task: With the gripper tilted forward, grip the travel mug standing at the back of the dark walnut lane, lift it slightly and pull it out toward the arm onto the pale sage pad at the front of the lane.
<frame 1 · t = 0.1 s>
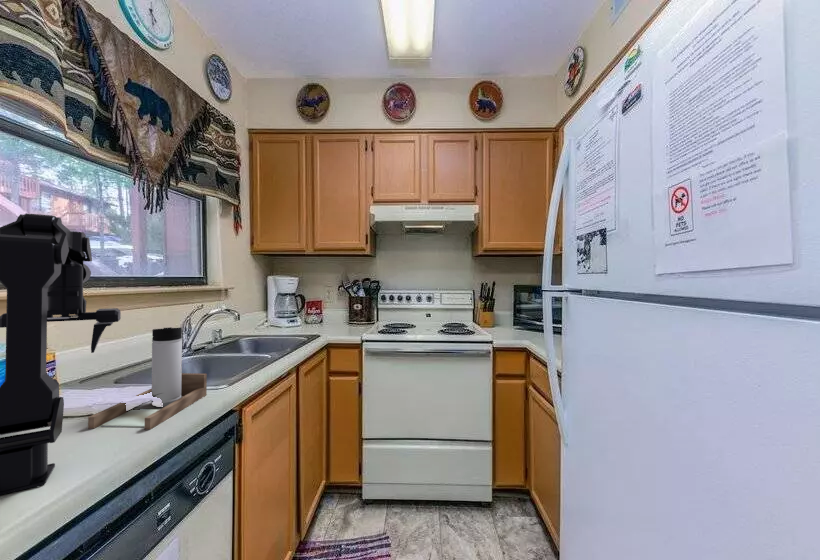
hand: (65, 354, 77), 15 cm above the countertop, tool pointing down, fingers open, 9 cm apart
travel mug: (166, 404, 87), resting on shelf lane
shelf lane: (153, 410, 83), on the countertop
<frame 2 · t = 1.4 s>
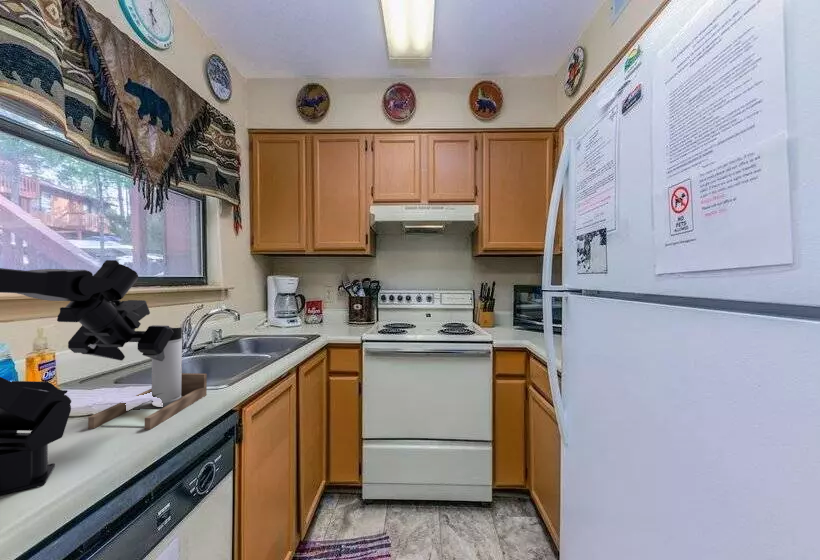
hand: (143, 359, 79), 14 cm above the countertop, tool tilted 45°, fingers open, 9 cm apart
nothing on the countertop moved.
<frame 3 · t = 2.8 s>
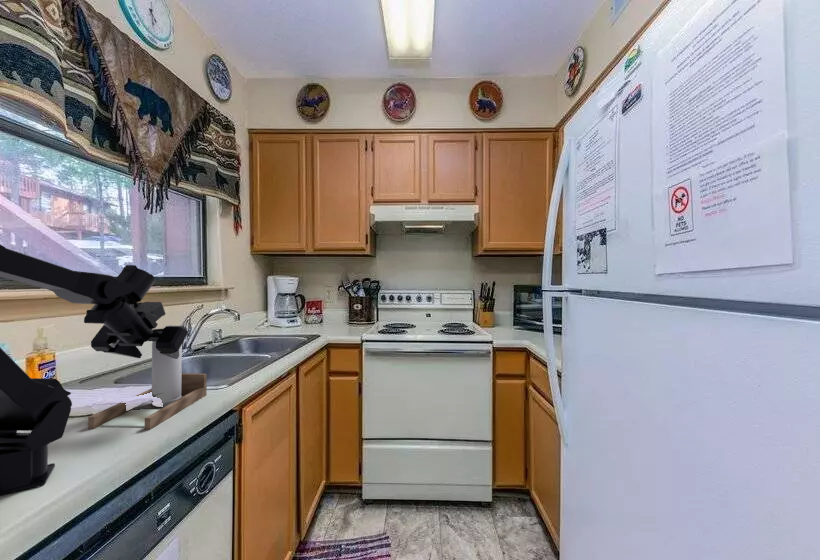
hand: (159, 356, 84), 13 cm above the countertop, tool tilted 45°, fingers open, 9 cm apart
nothing on the countertop moved.
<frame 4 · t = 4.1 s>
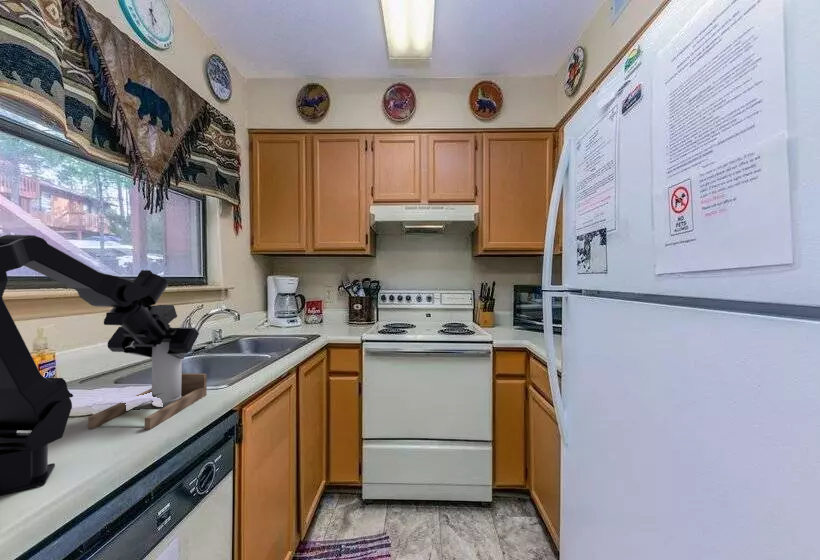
hand: (170, 357, 89), 12 cm above the countertop, tool tilted 45°, fingers closed on travel mug, 6 cm apart
travel mug: (166, 404, 87), resting on shelf lane, touching gripper
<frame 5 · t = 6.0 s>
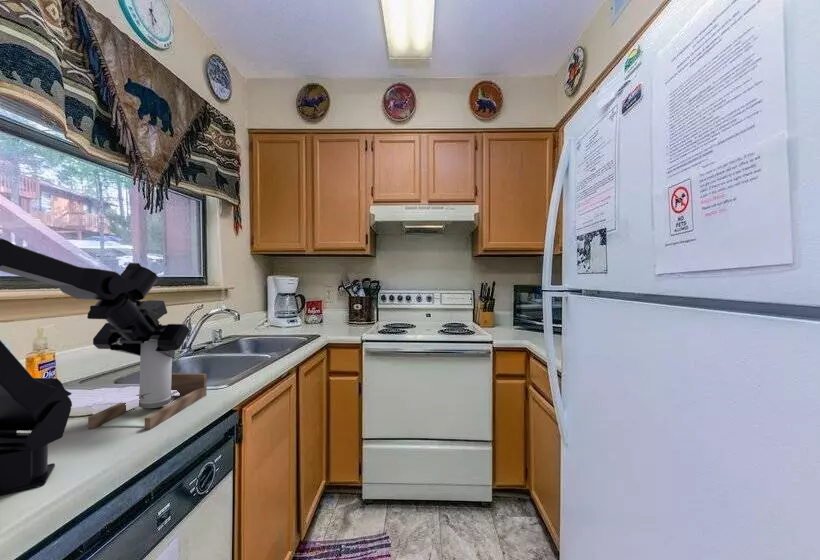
hand: (160, 355, 85), 13 cm above the countertop, tool tilted 45°, fingers closed on travel mug, 6 cm apart
travel mug: (155, 405, 83), point 1 cm above the countertop, touching gripper
when the fingers open (12 cm above the countertop, at t = 7.8 s): travel mug stays where it is, resting on shelf lane.
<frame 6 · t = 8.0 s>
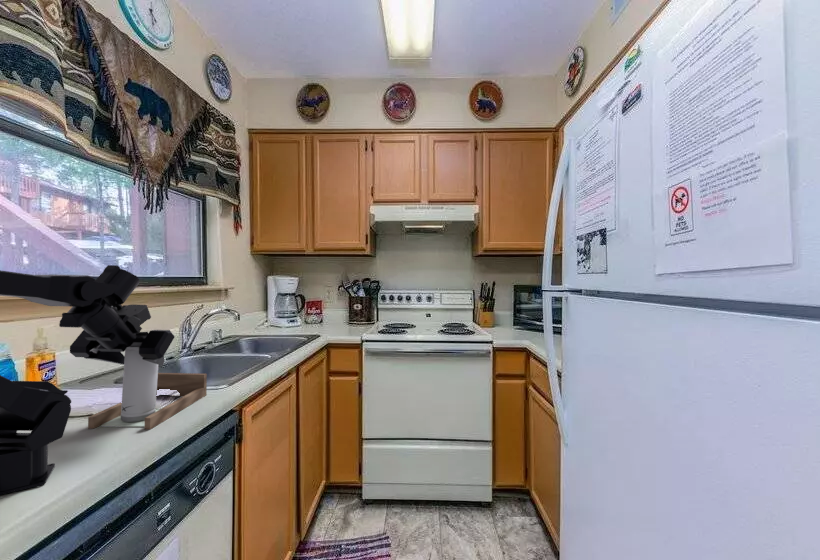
hand: (144, 363, 79), 12 cm above the countertop, tool tilted 45°, fingers open, 8 cm apart
travel mug: (138, 418, 78), resting on shelf lane, touching gripper
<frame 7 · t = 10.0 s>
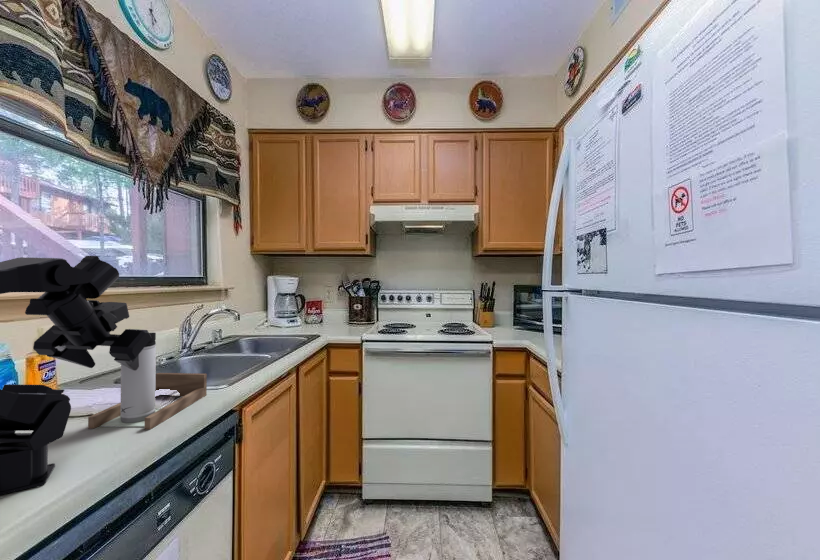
hand: (114, 367, 72), 13 cm above the countertop, tool tilted 40°, fingers open, 9 cm apart
travel mug: (138, 418, 78), resting on shelf lane
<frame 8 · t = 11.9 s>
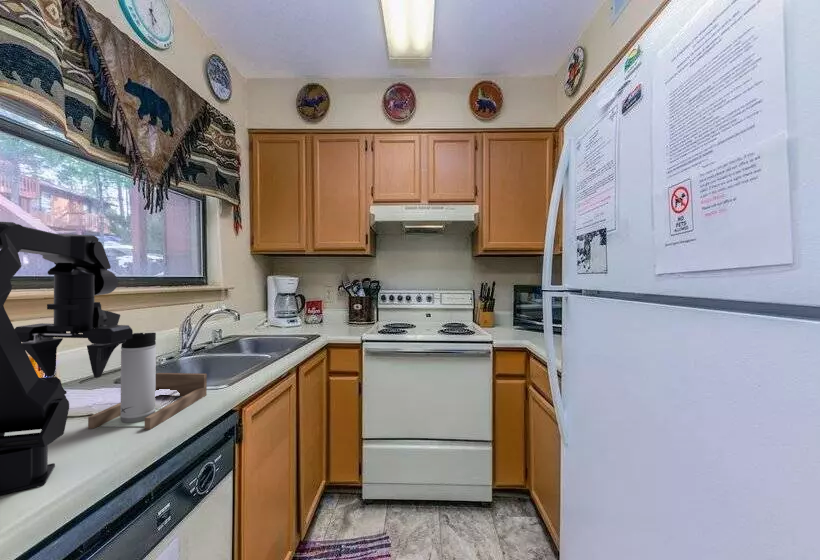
hand: (74, 376, 67), 13 cm above the countertop, tool pointing down, fingers open, 9 cm apart
nothing on the countertop moved.
at the end: travel mug 0.4 cm from the target spot, resting on shelf lane; travel mug tilted 0°; the gripper is holding nothing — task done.
